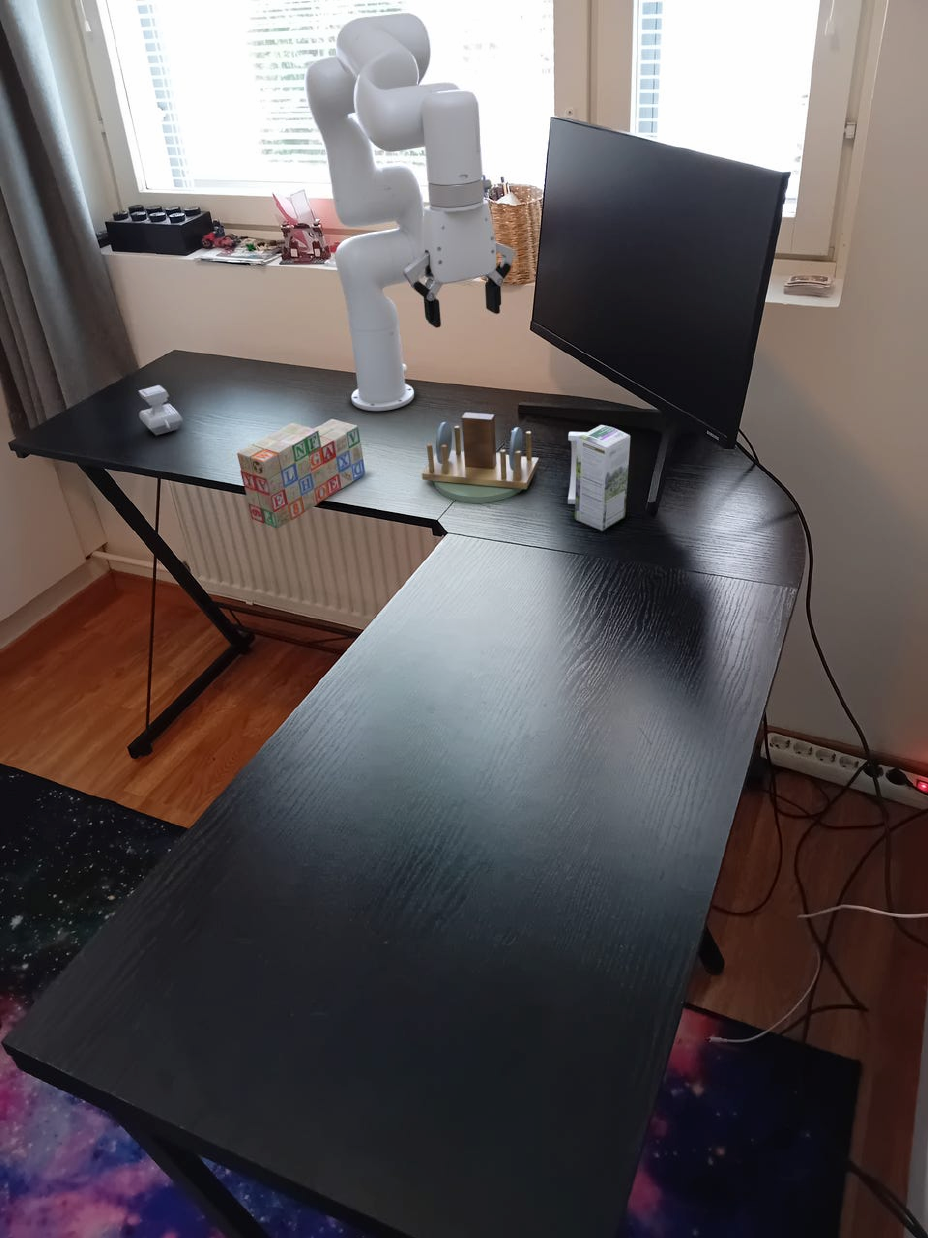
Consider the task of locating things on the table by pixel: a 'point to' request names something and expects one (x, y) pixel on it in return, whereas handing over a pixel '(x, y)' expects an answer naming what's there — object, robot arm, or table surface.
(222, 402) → the table surface
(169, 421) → the stamp
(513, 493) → the turntable
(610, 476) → the syrup box
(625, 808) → the table surface
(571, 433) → the white curved piece
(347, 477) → the stack of blocks
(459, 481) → the plate rack
